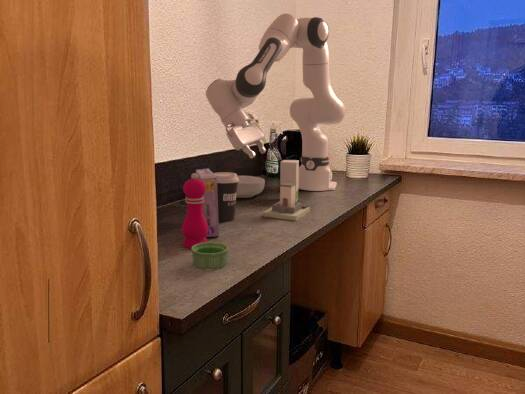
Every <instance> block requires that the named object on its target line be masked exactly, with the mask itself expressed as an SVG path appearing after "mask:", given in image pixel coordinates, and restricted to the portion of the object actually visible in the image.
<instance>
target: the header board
mask: <svg viewBox="0 0 525 394" xmlns="http://www.w3.org/2000/svg"><path fill="white" fill-rule="evenodd" d="M309 212H311V207H309V205H308V204H303V203H302V202H297V201H296V202H295V206H293V207H289V206H281V205H280V200H279V201H277V202H276V203H274V204H272V205H271V207H270V208H268V209H266V210H264V211H263V212H262V217H265V218H272V219H278V220H280V219H281V220H287V221H288V220H289V221H295V222H296V221H298V220H300V219H301V218H303V217H304V216H305V215H307V214H309Z"/></svg>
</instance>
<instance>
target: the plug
mask: <svg viewBox="0 0 525 394" xmlns="http://www.w3.org/2000/svg"><path fill="white" fill-rule="evenodd" d="M279 186H280V187H279V189H280V190H279V191H280V192H279V201H280V205H281V206H289V207H293V206H295V184H294V183H283V184H280V183H279Z"/></svg>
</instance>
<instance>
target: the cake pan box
mask: <svg viewBox="0 0 525 394" xmlns="http://www.w3.org/2000/svg"><path fill="white" fill-rule="evenodd" d="M195 173H196V174H197V175H198V178H197V179H200V180H202V181H203V182H204V184H205V186H206V191H205V193H204V194H203V197H204V202H203V203H202V212H203V215H204V218H205V220H206V222H207V225H208V233H207V235H206V236H205V238H219V236H220V232H219V231H220V228H219V225H220V223H219V222H220V221H218V194H217V178H216V177H215V176H214V174H213V173H214V172H213V171H211V169H210V168H201V169H196V170H195Z"/></svg>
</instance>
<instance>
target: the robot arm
mask: <svg viewBox="0 0 525 394" xmlns="http://www.w3.org/2000/svg"><path fill="white" fill-rule="evenodd" d="M329 35H330V28H329V25H328V23H327V21H326V19H324V18H322V17H318V16H317V17H316V16H314V17H299V18H296V17H295V16H294V15H293V14H291V13H282V14H280V15H278V16H277V17H276V18H275V19H274V20H273V22H271V24H270V25H269V26H268V27H267V29H266V30H265V32H264V34H263V35H262V37H261V39H260V42H259V45H258V50H259V51H258V53H257V54H256V56H255V57H254V59H253V60H252V61H251V62H250V63H249V64H247V65H245V66H244V67H242V68H241V69H240V70H239V71H238V73H237V74H236V77H235V79H232V80H231V79H230V80H227V79H222V78H217V79H215V80H214V81H213V82H212V83H211V84H209V86H208V87H207V89H206V91H205V97H206V99H207V101H208V103H209V105H210V106H211V108H212V110H213V111H214V112H215V113H216V114H217V115H218V116H219V118H220V120H221V121H220V122H221V123H222V125H223V126H224V127H225V131H226V137H227V139H228V140H229V142H230V144H231V145H232V147H233V149H234V150H235V151H239V150H242V151H243V153H244V154H247V155H248V157H249V158H250V159H253V158H255V157H256V152H255V151H253V150H252V149H251V148H250V146H252V145H256V146H257V147H258V151H259V152H260V154H265V153H266V151H267V149H266V147H265V146H264V142H263V140H264V139H265V138H266V137H265V133H264V131H263V129H262V128H261V126H260V125H259V124H258V122H257V121H256V117H255V116H254V114H253V113H249V112H247V111H246V110H244V108H246V107H247V108H248V107H249V106H250V105H252V104H253V103H254V102H255V100H256V99H257V97H258V96H259V95H260V94H261V92H263V90H264V89H265V87H266V83H267V77H268V76H267V74H268V73H269V70H270V69H271V68H272V66H273V64H274V63H275V62H276V63H277V62H280V61H281V60H282V59H283V58H285V56H286V55H287V53H288V52H289V51H290V49H292V48H296V49H302V82H303V85H304V86H305V88H307V89H309V91H310V92H311V93H312V96H313V97H300V98H296V99H294V100H293V101H292V102H291V104H290V106H289V114H290V115H289V116H290V117H291V119H292V120H293V121H294V122H295V124H296V125H297V126H298V127H297V128H299V131H300V134H301V139H302V140H301V142H302V143H301V144H302V148H301V149H302V151H301V154H302V155H300V164H301V165H299V182H298V190H304V191H313V192H319V191H320V192H322V191H335V190H336V187H337V184H338V183H337V182H336V181H333V171H332V169H331V167H330V166H329V164H330V155H329V154H328V153H329V138H328V137H327V135H326V134H325V133H323V132H322V131H321V128H320V125H326V126H327V125H328V126H329V125H330V126H331V125H336V124H340V123H341V122H342V121H343V119H345V118H344V117H345V115H346V107H345V104H344V102H343V101H342V100H341V99H339V98H338V97H337V96H336V94H335V92H334V90H333V87H332V84H331V77H330V76H331V75H330V73H331V72H330V54H329V47H328V43H327V41H328V38H329Z"/></svg>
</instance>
